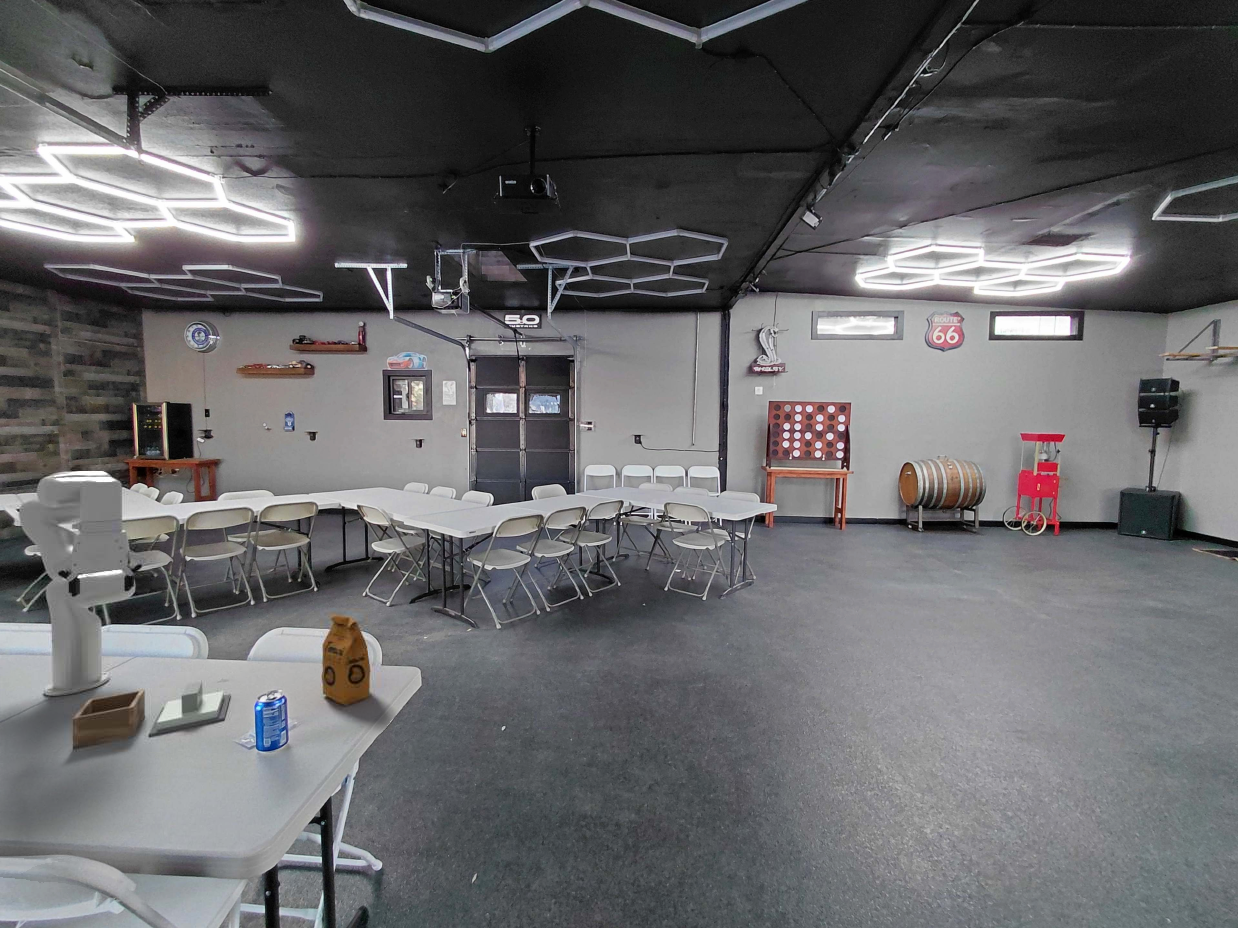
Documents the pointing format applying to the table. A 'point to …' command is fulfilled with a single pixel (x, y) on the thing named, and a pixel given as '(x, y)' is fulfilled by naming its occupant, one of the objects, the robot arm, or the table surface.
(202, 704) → the lid
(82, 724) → the crate
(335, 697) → the coffee package
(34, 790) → the table surface
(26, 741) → the table surface
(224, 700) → the mat
